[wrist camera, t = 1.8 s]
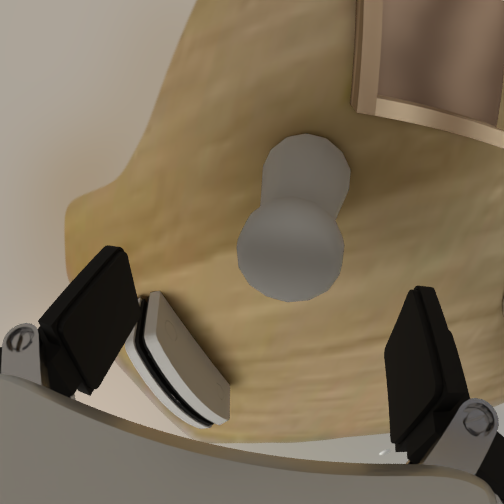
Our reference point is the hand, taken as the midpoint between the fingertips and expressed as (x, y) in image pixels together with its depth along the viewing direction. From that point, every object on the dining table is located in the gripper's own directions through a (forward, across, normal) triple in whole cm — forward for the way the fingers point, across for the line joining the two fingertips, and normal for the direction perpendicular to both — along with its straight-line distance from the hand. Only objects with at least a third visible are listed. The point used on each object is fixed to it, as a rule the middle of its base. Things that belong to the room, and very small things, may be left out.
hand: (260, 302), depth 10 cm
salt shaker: (+15, -1, 0) cm, 15 cm away
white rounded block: (+16, +10, +22) cm, 29 cm away
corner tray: (+15, -9, -10) cm, 20 cm away
